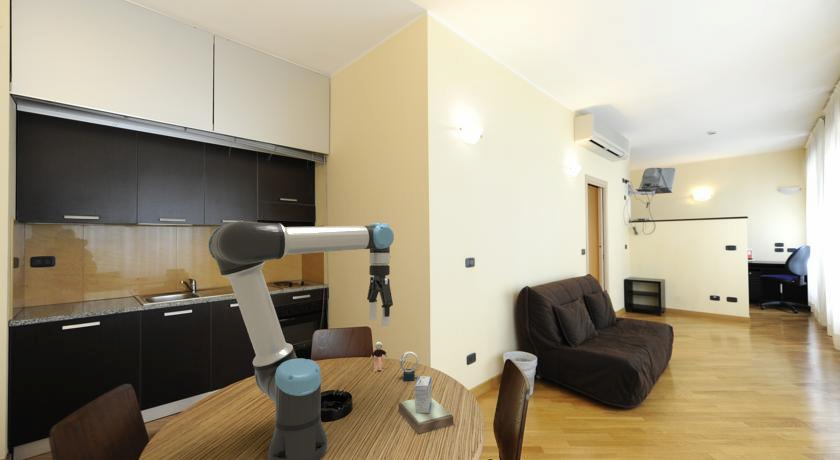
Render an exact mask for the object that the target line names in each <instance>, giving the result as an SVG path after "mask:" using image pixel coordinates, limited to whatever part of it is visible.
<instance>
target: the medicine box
mask: <svg viewBox="0 0 840 460" xmlns="http://www.w3.org/2000/svg"><path fill="white" fill-rule="evenodd" d="M432 393H433V392H432V377H431V376H425V375H420V376H418V378H417V380H416V382H415V385H414V399H415V410H416V413H429V411H430V407H431V403H432V398H433V397H432V395H433V394H432Z"/></svg>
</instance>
